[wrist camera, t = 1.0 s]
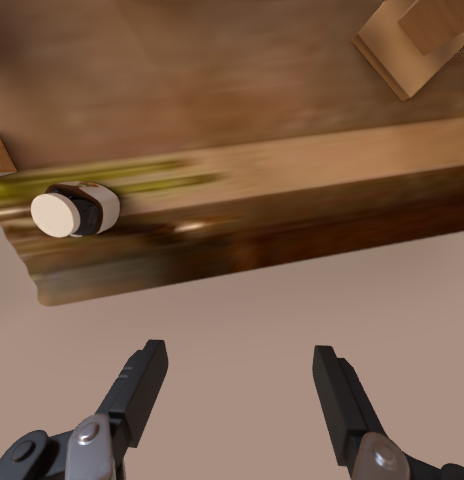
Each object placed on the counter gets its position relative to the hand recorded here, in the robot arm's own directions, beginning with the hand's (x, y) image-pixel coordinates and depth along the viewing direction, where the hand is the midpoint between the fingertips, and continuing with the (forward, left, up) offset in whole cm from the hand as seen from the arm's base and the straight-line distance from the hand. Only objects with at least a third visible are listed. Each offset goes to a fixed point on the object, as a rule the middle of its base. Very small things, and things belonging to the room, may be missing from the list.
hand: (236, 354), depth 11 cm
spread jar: (-11, -29, -33) cm, 45 cm away
